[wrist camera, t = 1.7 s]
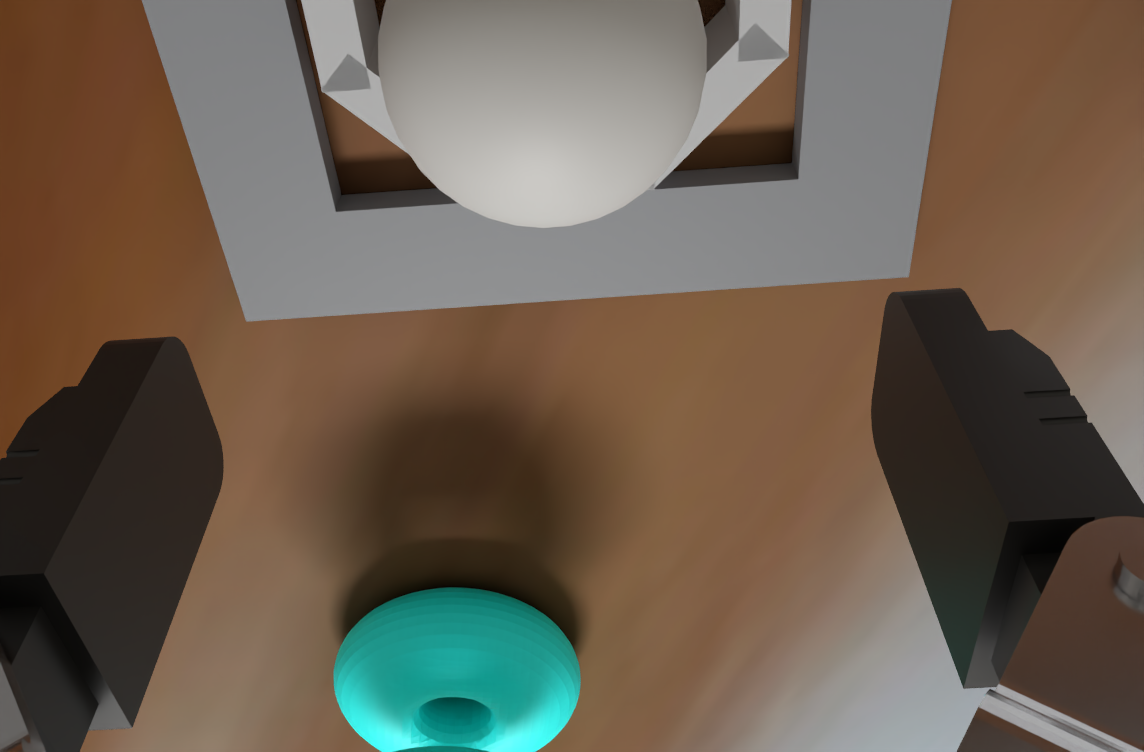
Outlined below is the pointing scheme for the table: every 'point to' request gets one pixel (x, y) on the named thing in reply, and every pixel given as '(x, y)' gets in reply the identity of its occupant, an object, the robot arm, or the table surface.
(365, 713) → the donuts
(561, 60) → the lightbulb
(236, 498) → the table surface
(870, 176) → the bulb socket stand
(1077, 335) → the table surface
